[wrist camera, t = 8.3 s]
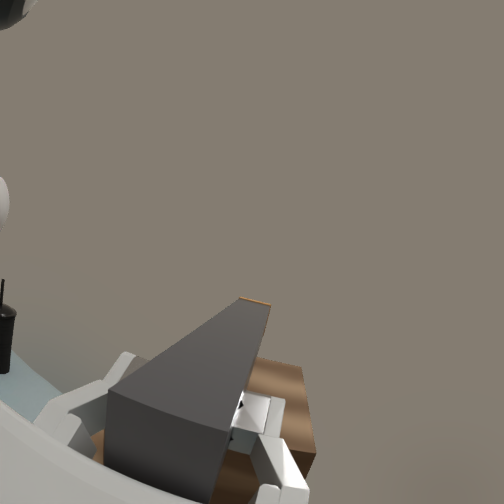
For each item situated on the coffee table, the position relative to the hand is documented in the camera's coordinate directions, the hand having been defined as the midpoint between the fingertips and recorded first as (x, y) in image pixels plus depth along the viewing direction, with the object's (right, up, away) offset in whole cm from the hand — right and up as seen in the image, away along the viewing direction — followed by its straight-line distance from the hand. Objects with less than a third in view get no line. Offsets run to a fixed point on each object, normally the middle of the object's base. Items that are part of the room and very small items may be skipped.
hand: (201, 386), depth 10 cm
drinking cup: (-52, -20, +36) cm, 66 cm away
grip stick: (0, -2, +8) cm, 8 cm away
